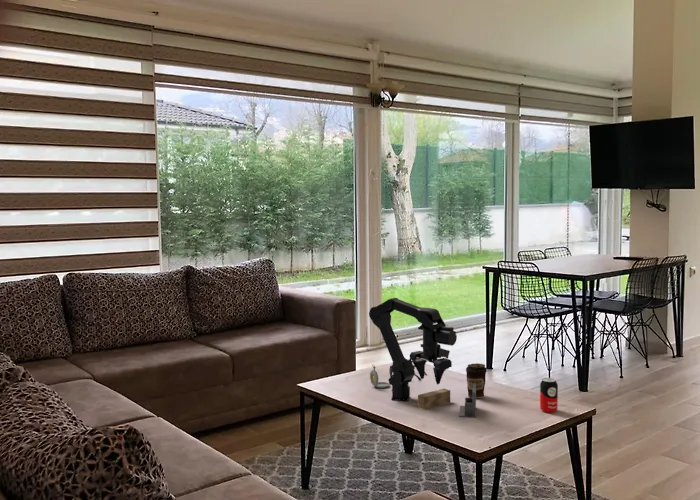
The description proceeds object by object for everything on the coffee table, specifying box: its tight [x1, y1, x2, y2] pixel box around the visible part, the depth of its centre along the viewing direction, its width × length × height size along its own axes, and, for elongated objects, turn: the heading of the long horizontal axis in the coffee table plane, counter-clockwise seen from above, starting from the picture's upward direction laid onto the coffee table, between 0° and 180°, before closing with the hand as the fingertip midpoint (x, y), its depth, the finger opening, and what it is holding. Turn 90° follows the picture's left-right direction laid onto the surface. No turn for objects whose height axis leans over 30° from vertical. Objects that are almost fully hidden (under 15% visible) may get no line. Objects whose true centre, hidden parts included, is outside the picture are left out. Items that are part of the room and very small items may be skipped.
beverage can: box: [539, 377, 559, 414], centre depth 256 cm, size 6×6×12 cm
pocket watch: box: [369, 364, 390, 389], centre depth 291 cm, size 8×8×10 cm
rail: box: [417, 388, 451, 410], centre depth 266 cm, size 14×4×5 cm, turn 126°
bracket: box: [458, 383, 477, 418], centre depth 256 cm, size 6×12×9 cm, turn 169°
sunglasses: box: [388, 364, 428, 381], centre depth 308 cm, size 14×16×5 cm
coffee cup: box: [465, 362, 488, 399], centre depth 275 cm, size 9×8×13 cm
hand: (430, 381), depth 264 cm, fingers open, 9 cm apart
